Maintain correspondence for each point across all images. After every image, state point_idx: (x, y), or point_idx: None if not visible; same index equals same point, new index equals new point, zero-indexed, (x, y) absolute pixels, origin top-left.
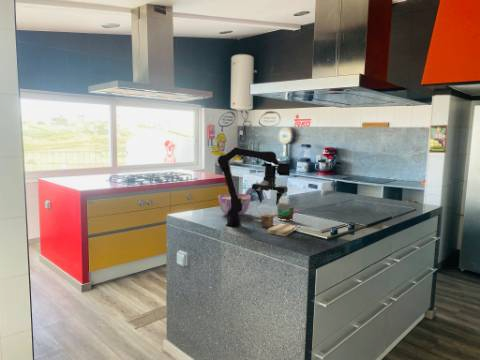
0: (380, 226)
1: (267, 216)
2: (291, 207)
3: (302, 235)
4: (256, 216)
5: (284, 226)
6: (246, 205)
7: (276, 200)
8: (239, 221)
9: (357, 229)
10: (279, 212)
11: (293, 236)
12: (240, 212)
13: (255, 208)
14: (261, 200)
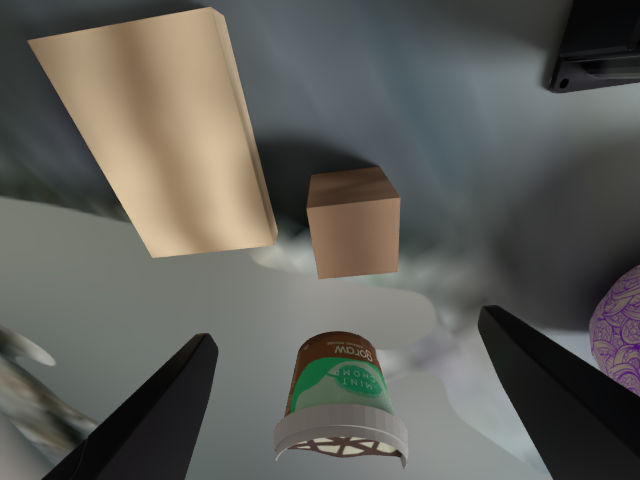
0: (39, 432)
1: (334, 214)
2: (280, 426)
3: (31, 162)
4: None
5: (187, 202)
6: (637, 355)
7: (147, 401)
8: (599, 18)
9: (33, 383)
10: (357, 373)
11: (30, 90)
12: (635, 282)
13: None
14: (498, 352)
